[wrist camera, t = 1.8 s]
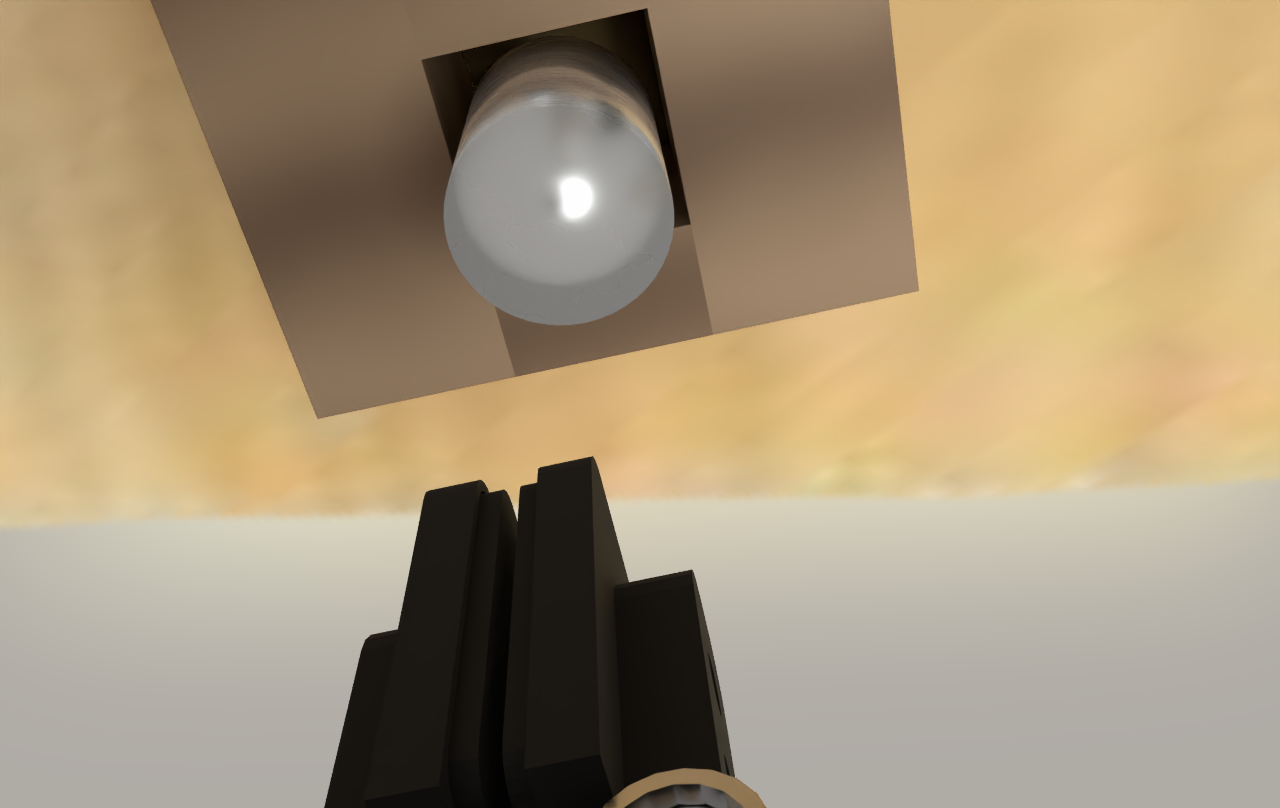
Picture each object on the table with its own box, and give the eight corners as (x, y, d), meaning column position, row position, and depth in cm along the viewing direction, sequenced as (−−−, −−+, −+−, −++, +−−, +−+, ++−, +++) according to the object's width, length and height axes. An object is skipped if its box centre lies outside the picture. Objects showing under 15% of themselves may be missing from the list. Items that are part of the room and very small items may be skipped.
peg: (444, 59, 25) (413, 135, 20) (633, 16, 24) (648, 82, 20) (495, 237, 27) (479, 345, 22) (671, 198, 26) (693, 299, 22)
